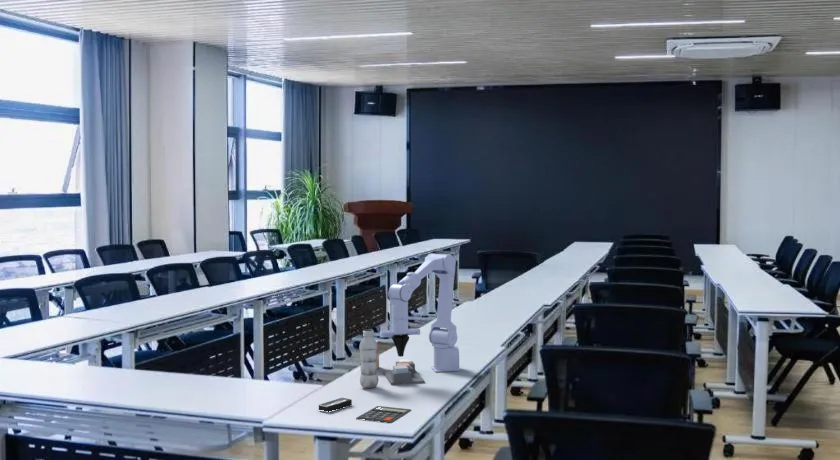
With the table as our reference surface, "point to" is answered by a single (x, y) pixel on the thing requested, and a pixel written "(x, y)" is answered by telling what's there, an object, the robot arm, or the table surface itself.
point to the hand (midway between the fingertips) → (400, 356)
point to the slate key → (400, 369)
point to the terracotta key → (403, 365)
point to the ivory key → (405, 361)
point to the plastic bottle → (368, 360)
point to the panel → (404, 376)
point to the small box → (377, 355)
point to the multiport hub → (335, 404)
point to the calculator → (384, 414)
